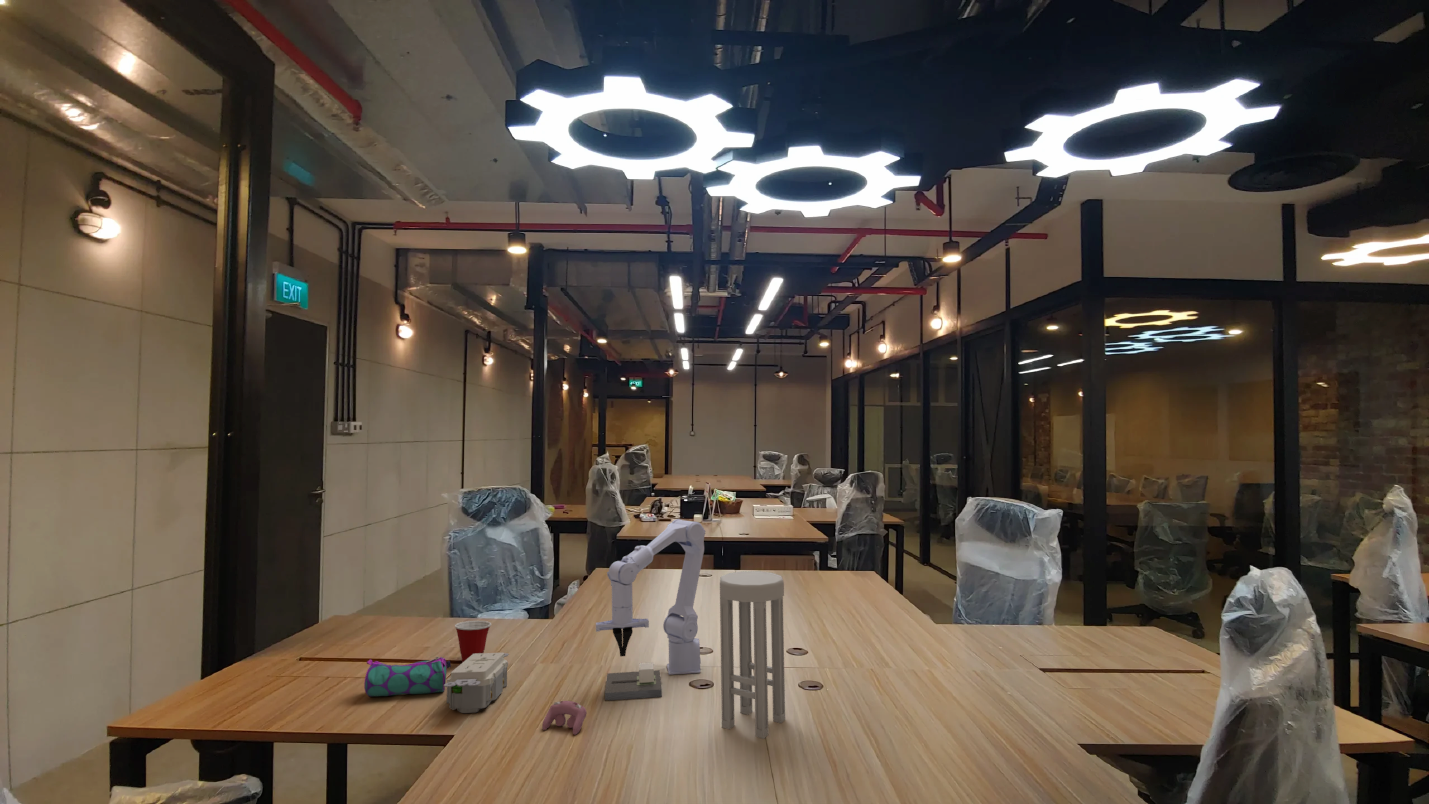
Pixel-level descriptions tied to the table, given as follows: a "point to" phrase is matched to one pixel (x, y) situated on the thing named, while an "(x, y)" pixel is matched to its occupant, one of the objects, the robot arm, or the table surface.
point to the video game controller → (558, 714)
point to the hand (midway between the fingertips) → (622, 654)
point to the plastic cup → (472, 637)
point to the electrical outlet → (477, 682)
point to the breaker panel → (631, 686)
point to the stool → (758, 591)
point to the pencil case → (406, 678)
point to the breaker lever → (646, 672)
